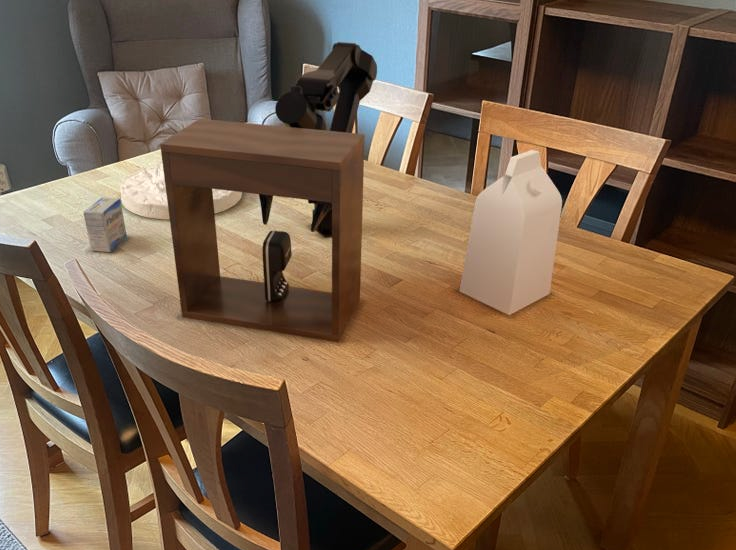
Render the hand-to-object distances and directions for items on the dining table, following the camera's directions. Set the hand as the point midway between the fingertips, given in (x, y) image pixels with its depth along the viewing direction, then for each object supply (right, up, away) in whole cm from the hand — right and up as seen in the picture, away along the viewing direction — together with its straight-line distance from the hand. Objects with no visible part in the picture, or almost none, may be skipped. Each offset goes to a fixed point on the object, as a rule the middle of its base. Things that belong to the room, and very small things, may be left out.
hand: (288, 227), depth 135 cm
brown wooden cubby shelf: (-3, -15, -4) cm, 16 cm away
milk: (+40, -12, +2) cm, 42 cm away
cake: (-28, +14, +40) cm, 51 cm away
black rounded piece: (-2, -12, -2) cm, 13 cm away
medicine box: (-38, 0, +18) cm, 42 cm away
